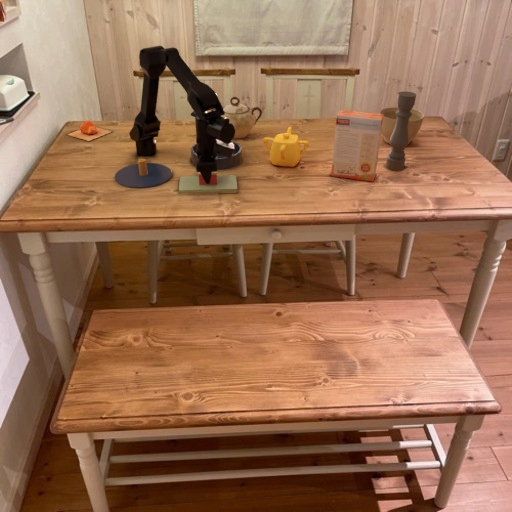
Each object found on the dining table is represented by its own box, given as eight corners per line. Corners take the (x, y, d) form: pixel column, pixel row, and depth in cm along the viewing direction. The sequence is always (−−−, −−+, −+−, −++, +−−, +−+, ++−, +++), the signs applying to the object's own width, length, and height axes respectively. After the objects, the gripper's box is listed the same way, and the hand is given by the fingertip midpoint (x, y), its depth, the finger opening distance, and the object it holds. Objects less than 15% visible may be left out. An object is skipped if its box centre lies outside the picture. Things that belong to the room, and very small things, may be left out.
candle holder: (405, 165, 179) (418, 92, 165) (401, 172, 175) (415, 98, 161) (387, 162, 181) (399, 90, 167) (383, 168, 177) (395, 95, 163)
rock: (89, 141, 195) (87, 130, 192) (66, 134, 200) (64, 124, 198) (112, 131, 203) (110, 121, 201) (90, 125, 208) (88, 115, 206)
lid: (111, 190, 161) (108, 173, 158) (119, 166, 176) (116, 149, 173) (170, 189, 163) (169, 171, 159) (173, 165, 178) (172, 148, 174)
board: (179, 194, 160) (178, 190, 159) (180, 180, 168) (180, 176, 167) (237, 192, 161) (237, 188, 160) (235, 178, 169) (235, 174, 168)
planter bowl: (424, 139, 200) (429, 111, 194) (410, 152, 188) (416, 123, 182) (384, 130, 207) (388, 103, 201) (369, 143, 195) (373, 115, 189)
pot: (191, 171, 173) (190, 159, 171) (192, 151, 188) (191, 139, 185) (242, 170, 175) (242, 158, 172) (240, 150, 189) (240, 138, 186)
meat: (199, 185, 162) (198, 173, 160) (199, 179, 165) (198, 168, 163) (217, 184, 162) (216, 173, 160) (216, 179, 165) (216, 167, 163)
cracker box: (375, 175, 172) (384, 113, 161) (372, 182, 168) (382, 119, 156) (334, 169, 176) (340, 108, 164) (330, 176, 171) (336, 114, 160)
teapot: (258, 158, 183) (259, 130, 177) (289, 151, 189) (290, 123, 183) (279, 172, 173) (280, 143, 168) (310, 165, 179) (313, 136, 173)
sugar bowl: (210, 142, 195) (209, 103, 186) (211, 128, 207) (209, 90, 199) (262, 142, 196) (263, 102, 187) (260, 128, 208) (260, 90, 200)
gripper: (233, 144, 147) (234, 193, 156) (231, 121, 163) (232, 167, 172) (194, 145, 147) (197, 194, 155) (195, 122, 162) (198, 168, 171)
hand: (207, 180), depth 163 cm, fingers closed on meat, 4 cm apart
